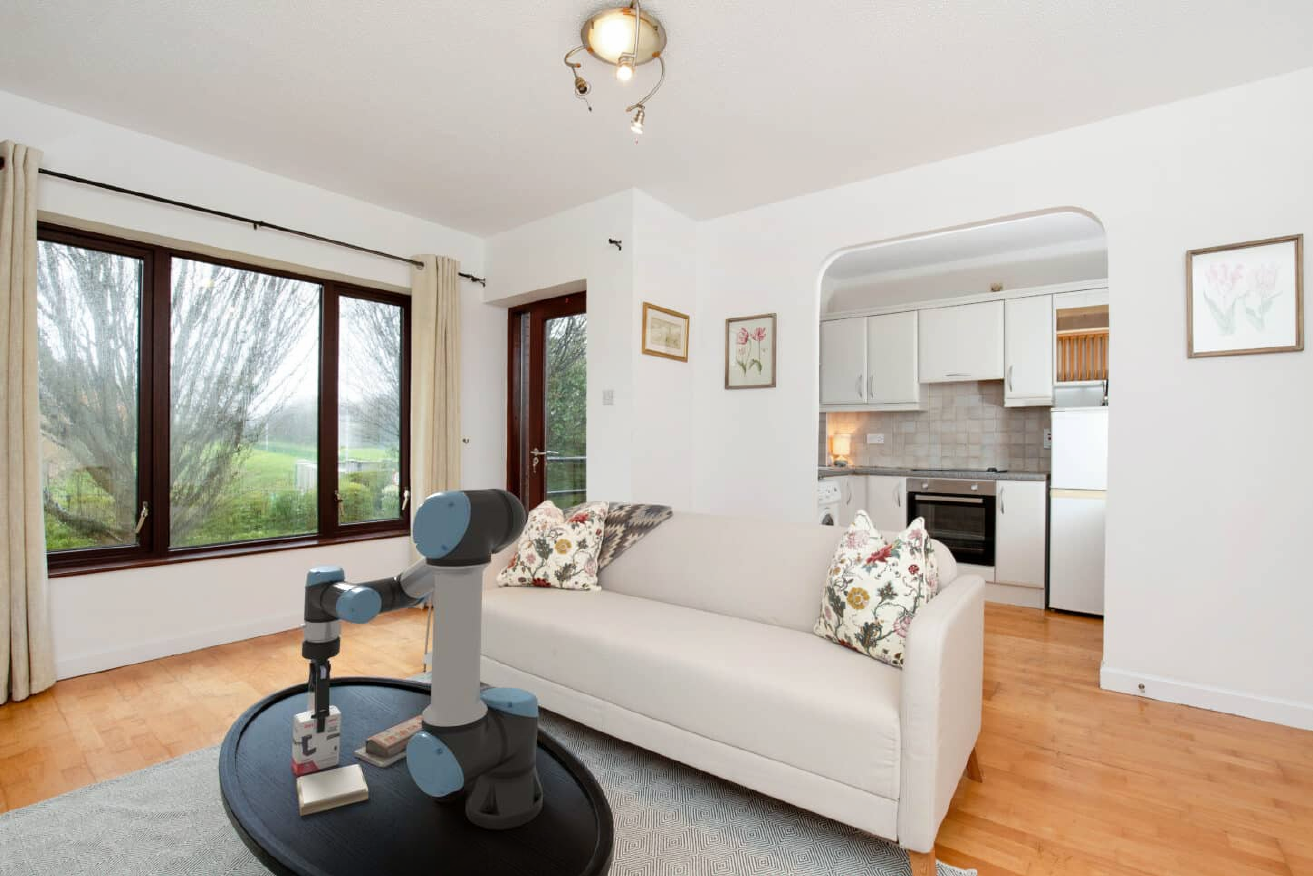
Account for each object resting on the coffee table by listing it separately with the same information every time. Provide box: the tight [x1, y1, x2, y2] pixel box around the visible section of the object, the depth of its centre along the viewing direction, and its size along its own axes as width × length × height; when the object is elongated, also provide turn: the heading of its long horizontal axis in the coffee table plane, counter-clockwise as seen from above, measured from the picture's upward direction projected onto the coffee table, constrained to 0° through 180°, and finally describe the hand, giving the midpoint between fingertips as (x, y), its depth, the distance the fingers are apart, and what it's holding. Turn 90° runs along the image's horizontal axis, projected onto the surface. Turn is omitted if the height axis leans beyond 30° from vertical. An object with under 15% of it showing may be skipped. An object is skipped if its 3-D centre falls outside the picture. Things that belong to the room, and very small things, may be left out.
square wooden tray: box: [296, 763, 370, 817], centre depth 128 cm, size 12×12×2 cm
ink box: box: [291, 705, 342, 777], centre depth 138 cm, size 8×5×12 cm, turn 134°
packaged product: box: [353, 714, 422, 769], centre depth 149 cm, size 18×5×10 cm
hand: (316, 732), depth 138 cm, fingers open, 13 cm apart
